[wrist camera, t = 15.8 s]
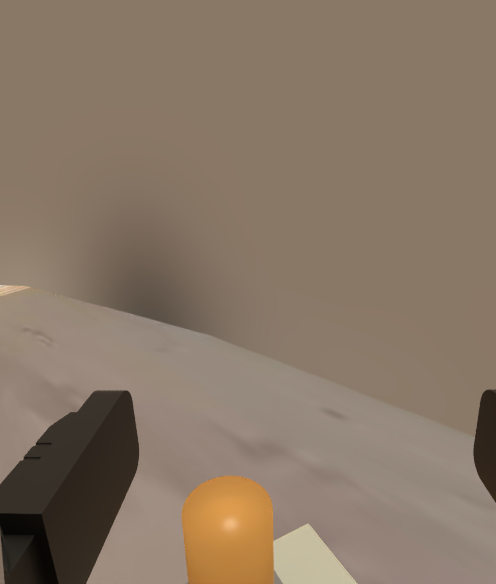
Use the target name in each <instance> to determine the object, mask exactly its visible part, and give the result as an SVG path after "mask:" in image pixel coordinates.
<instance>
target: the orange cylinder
mask: <svg viewBox="0 0 496 584" xmlns="http://www.w3.org/2000/svg"><path fill="white" fill-rule="evenodd" d="M182 525H183V534H184V544H185V554H186V563H187V573H188V583H189V584H274V551H273V507H272V502H271V499H270V497H269V495H268V493H267V492H266V490H265V489H264V488H263V487H262V486H260V485H259V484H258V483H256V482H254V481H252V480H250V479H248V478H244V477H239V476H222V477H217V478H214V479H211V480H208V481H206V482H204V483H203V484H201V485H199V486H198V487H197V488H196V489H194V490H193V491H192V492H191V494H190V495H189V496H188V498H187V499H186V501H185V503H184V506H183V509H182Z"/></svg>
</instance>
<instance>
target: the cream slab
mask: <svg viewBox="0 0 496 584" xmlns="http://www.w3.org/2000/svg"><path fill="white" fill-rule="evenodd" d="M273 551H274V584H357V583H356V582H355V580H354V579H353V578H352V577H351V576H350V574H349V573H348V572H347V571H346V569H345V568H344V567H343V566H342V564H341V563H340V562H339V561H338V559H337V558H336V557H335V556H334V555H333V553H332V552H331V551H330V550H329V548H328V547H327V546H326V545H325V543H324V542H323V541H322V540H321V539H320V537H319V536H318V535H317V534H316V532H315V531H314V530H313V529H312V527H311V526H310V525H309V524H306V525H304V526H302V527H300V528H298V529H296V530H294V531H292V532H290V533H288V534H286V535H284V536H283V537H281V538H279V539H277V540H275V541H273ZM187 584H189V583H187Z"/></svg>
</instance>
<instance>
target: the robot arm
mask: <svg viewBox="0 0 496 584" xmlns="http://www.w3.org/2000/svg"><path fill="white" fill-rule="evenodd" d="M138 460H139V443H138V436H137V430H136V423H135V416H134V409H133V402H132V397H131V394H130V393H129V391H95V392H93V393H92V394H91V395H90V397H89V398H88V399H87V400H86V402H85V403H84V404H83V405H82V407H81V408H80V409H79V411H78V412H71V413H69V414H68V415H66V416H65V417H63V418H62V419H60V420H59V421H57V422H56V423H54V424H53V425H51V426H50V427H49V428H48V429H47V430H46V432H45V433H44V434H43V435H42V436H41V437H40V439H39V440H38V441H37V442H36V446H33V447H32V448H31V449H30V450H29V451H28V453H27V454H26V455H25V456H24V460H23V461H20V462H19V463H18V464H17V465H16V467H15V468H14V469H13V470H12V471H11V472H10V474H9V475H8V476H7V477H6V478H5V479H4V481H3V482H2V483H1V484H0V584H86V582H87V580H88V578H89V576H90V574H91V571H92V569H93V567H94V565H95V563H96V560H97V558H98V556H99V554H100V551H101V549H102V547H103V545H104V543H105V540H106V538H107V536H108V534H109V531H110V529H111V527H112V525H113V523H114V520H115V518H116V516H117V514H118V511H119V509H120V507H121V505H122V503H123V500H124V498H125V496H126V494H127V491H128V489H129V487H130V485H131V483H132V480H133V478H134V476H135V473H136V470H137V466H138ZM474 462H475V466H476V470H477V473H478V475H479V477H480V479H481V481H482V482H483V484H484V485H485V487H486V488H487V490H488V491H489V493H490V494H491V496H492V498H493V499H494V501H495V502H496V390H486V391H485V392H484V393H483V394H482V397H481V402H480V408H479V415H478V422H477V429H476V435H475V442H474Z"/></svg>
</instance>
